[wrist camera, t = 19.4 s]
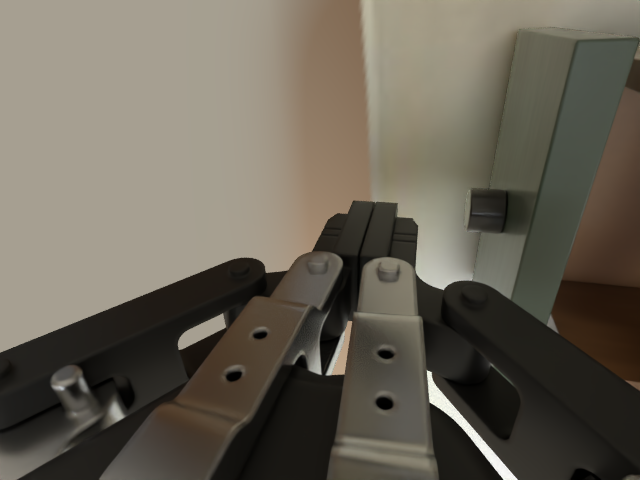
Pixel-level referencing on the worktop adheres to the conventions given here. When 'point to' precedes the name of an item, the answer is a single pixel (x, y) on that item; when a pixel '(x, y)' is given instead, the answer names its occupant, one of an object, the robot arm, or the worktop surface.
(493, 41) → the worktop surface
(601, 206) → the drawer
